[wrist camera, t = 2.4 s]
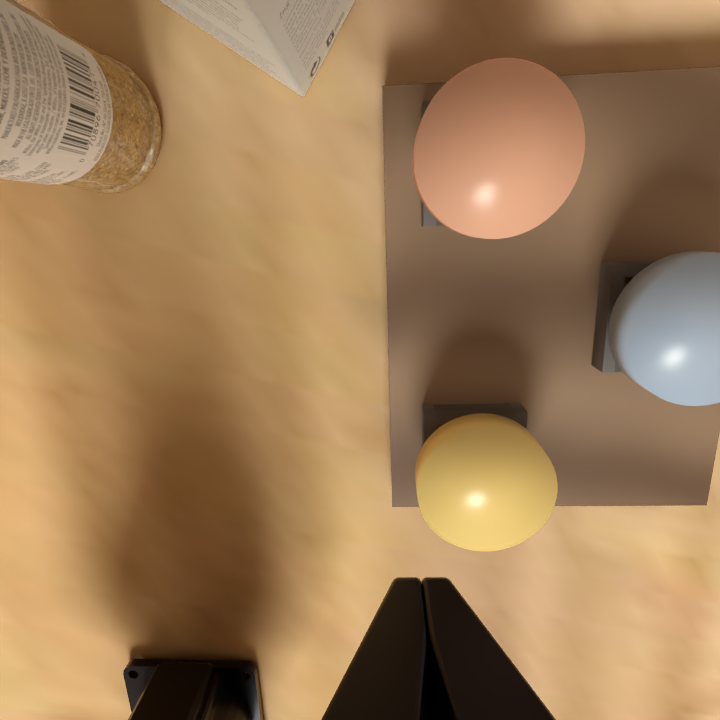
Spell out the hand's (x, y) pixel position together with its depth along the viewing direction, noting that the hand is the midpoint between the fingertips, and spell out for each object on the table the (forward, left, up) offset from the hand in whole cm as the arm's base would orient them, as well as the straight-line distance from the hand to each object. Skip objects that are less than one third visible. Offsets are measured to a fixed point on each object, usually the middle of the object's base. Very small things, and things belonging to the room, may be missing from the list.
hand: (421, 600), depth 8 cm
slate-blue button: (+2, -9, -10) cm, 13 cm away
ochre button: (-3, -3, -10) cm, 10 cm away
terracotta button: (+7, -3, -10) cm, 12 cm away
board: (+2, -6, -12) cm, 14 cm away
